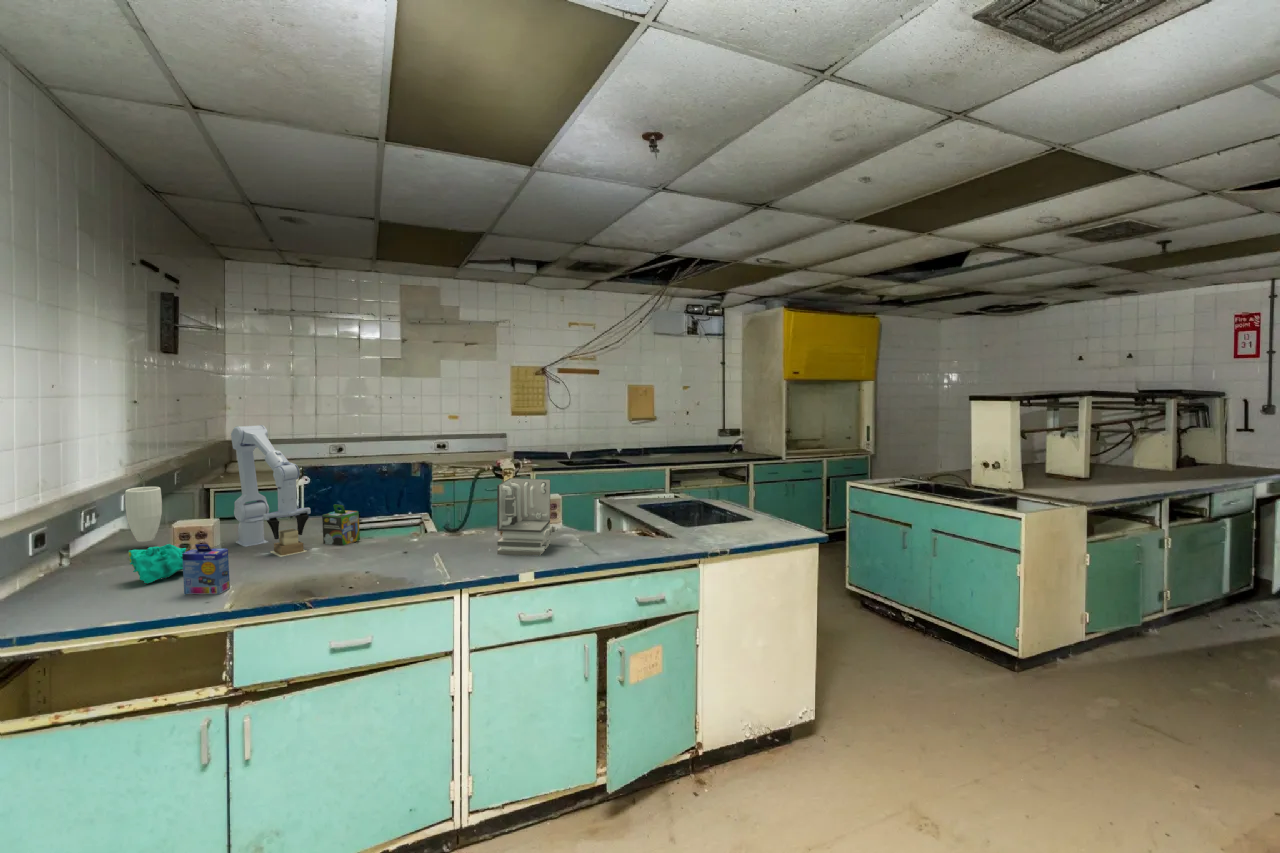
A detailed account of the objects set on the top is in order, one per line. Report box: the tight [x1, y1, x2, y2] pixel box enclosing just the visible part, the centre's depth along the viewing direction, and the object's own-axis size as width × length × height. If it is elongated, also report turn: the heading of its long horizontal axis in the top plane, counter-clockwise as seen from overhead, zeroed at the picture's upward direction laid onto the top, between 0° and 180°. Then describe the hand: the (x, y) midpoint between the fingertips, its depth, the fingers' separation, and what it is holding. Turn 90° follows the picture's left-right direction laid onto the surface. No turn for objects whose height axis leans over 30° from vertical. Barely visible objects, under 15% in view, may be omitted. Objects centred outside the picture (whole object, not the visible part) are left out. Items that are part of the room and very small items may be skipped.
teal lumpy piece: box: [128, 543, 187, 584], centre depth 183 cm, size 15×12×13 cm
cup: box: [124, 486, 163, 543], centre depth 214 cm, size 10×10×22 cm
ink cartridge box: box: [182, 543, 231, 595], centre depth 172 cm, size 10×6×14 cm, turn 95°
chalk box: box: [321, 504, 361, 546], centre depth 225 cm, size 9×9×15 cm
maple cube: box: [278, 528, 299, 546], centre depth 212 cm, size 4×4×4 cm
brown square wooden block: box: [273, 540, 305, 556], centre depth 212 cm, size 7×7×3 cm
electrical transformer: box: [496, 477, 558, 557], centre depth 221 cm, size 16×19×25 cm
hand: (288, 536), depth 212 cm, fingers open, 7 cm apart
